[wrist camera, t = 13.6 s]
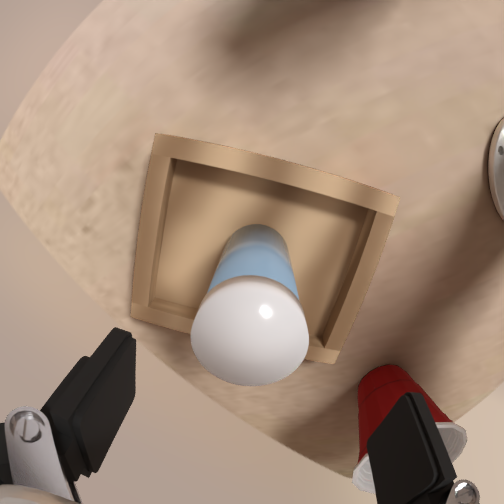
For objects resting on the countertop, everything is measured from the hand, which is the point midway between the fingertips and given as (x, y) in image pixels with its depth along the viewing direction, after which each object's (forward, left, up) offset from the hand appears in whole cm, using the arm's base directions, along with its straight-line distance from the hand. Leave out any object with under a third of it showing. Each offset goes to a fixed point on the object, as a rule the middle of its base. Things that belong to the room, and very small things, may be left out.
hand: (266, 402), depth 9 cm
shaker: (+1, 0, -16) cm, 15 cm away
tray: (+1, 0, -17) cm, 17 cm away
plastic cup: (-16, +12, -17) cm, 26 cm away
